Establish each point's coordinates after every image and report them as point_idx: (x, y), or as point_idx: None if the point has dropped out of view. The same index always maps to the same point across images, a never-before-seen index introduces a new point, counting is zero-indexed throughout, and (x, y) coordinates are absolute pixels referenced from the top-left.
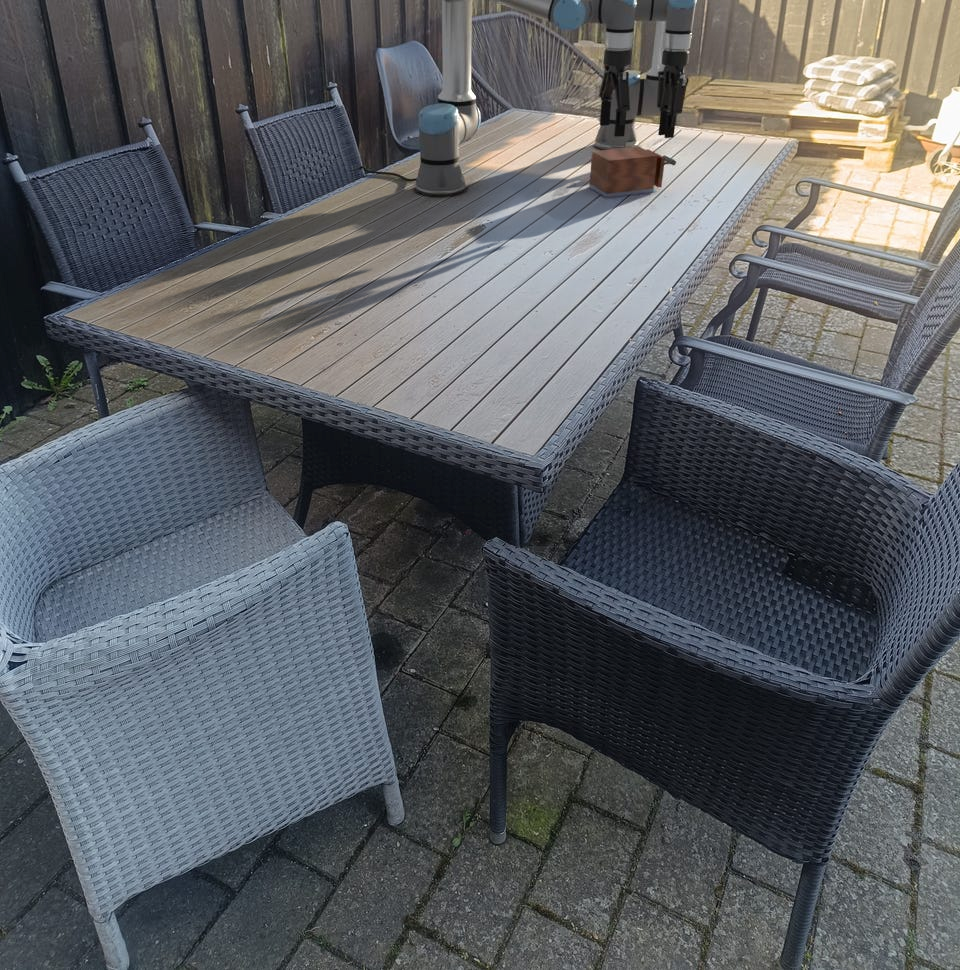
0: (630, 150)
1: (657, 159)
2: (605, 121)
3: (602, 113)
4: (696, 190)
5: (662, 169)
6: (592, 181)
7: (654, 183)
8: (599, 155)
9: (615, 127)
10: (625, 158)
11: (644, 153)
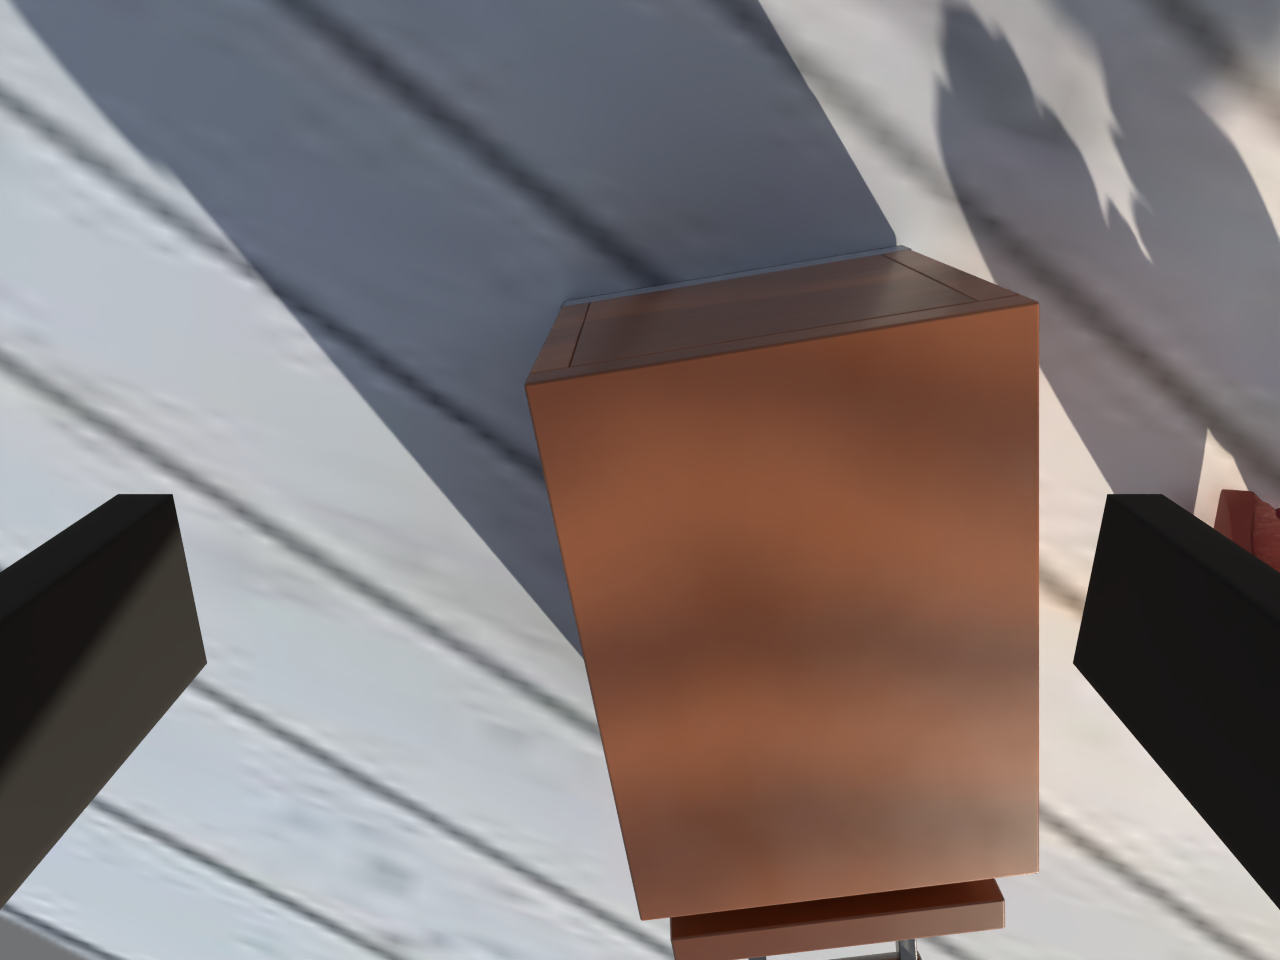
0: (913, 751)
1: None
2: (1126, 626)
3: (1267, 646)
4: (621, 951)
5: None
6: (863, 263)
7: None
8: (805, 337)
9: (22, 572)
10: (588, 600)
11: (752, 840)
